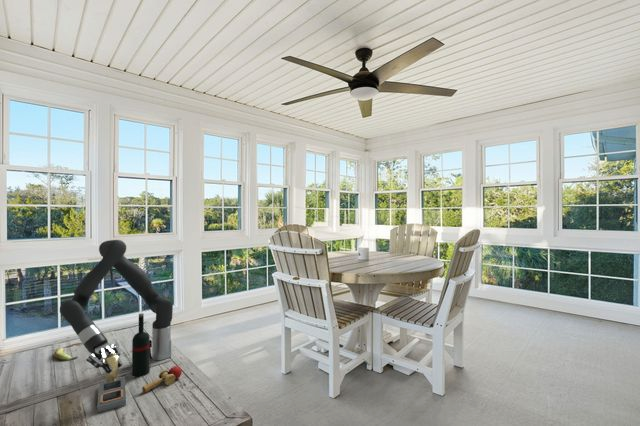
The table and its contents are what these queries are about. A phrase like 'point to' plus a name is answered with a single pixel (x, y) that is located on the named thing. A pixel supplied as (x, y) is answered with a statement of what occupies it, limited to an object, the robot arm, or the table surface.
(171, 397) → the table surface
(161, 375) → the kendama
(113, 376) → the brass peg
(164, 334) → the robot arm
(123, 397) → the grey flat frame
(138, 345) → the wine bottle
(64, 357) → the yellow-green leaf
